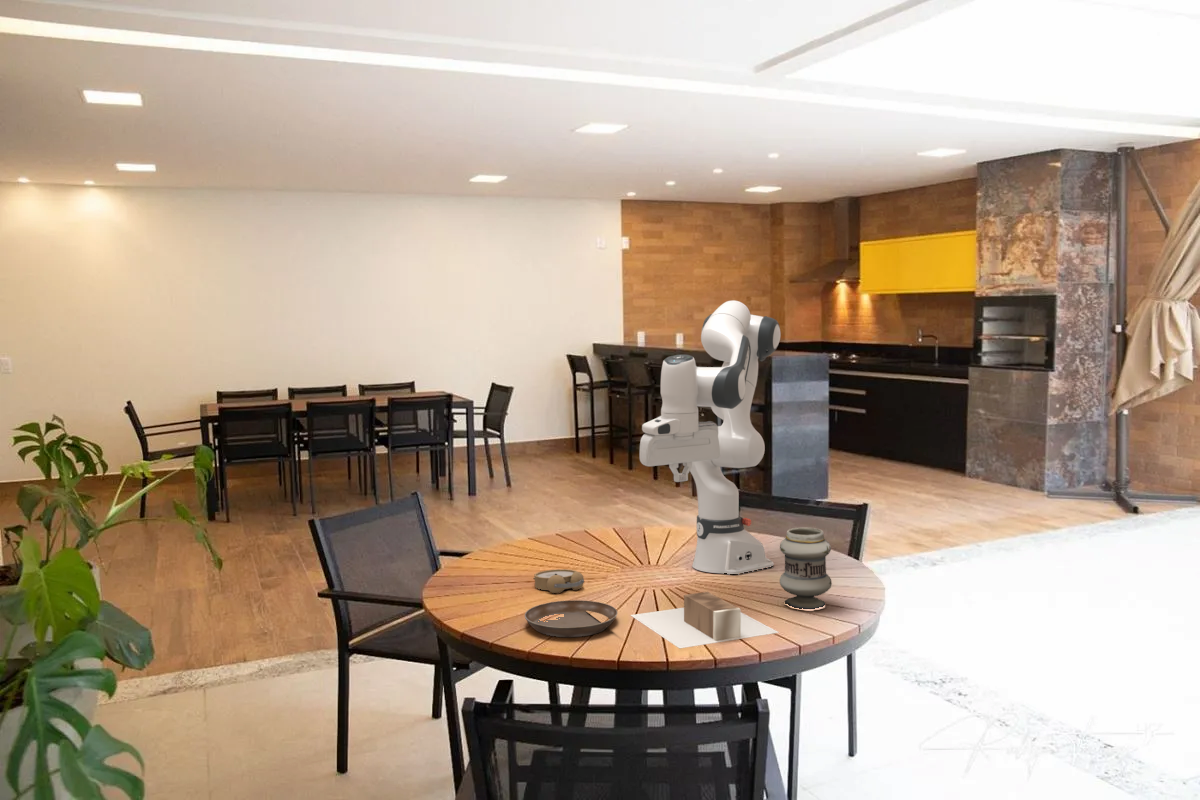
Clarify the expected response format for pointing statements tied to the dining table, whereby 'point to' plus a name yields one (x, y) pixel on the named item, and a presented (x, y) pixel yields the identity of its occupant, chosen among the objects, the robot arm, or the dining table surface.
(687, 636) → the white mat
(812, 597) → the apothecary jar
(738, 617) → the walnut block
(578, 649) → the dining table surface
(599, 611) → the plant saucer
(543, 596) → the dining table surface
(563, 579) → the alarm clock
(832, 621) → the dining table surface
